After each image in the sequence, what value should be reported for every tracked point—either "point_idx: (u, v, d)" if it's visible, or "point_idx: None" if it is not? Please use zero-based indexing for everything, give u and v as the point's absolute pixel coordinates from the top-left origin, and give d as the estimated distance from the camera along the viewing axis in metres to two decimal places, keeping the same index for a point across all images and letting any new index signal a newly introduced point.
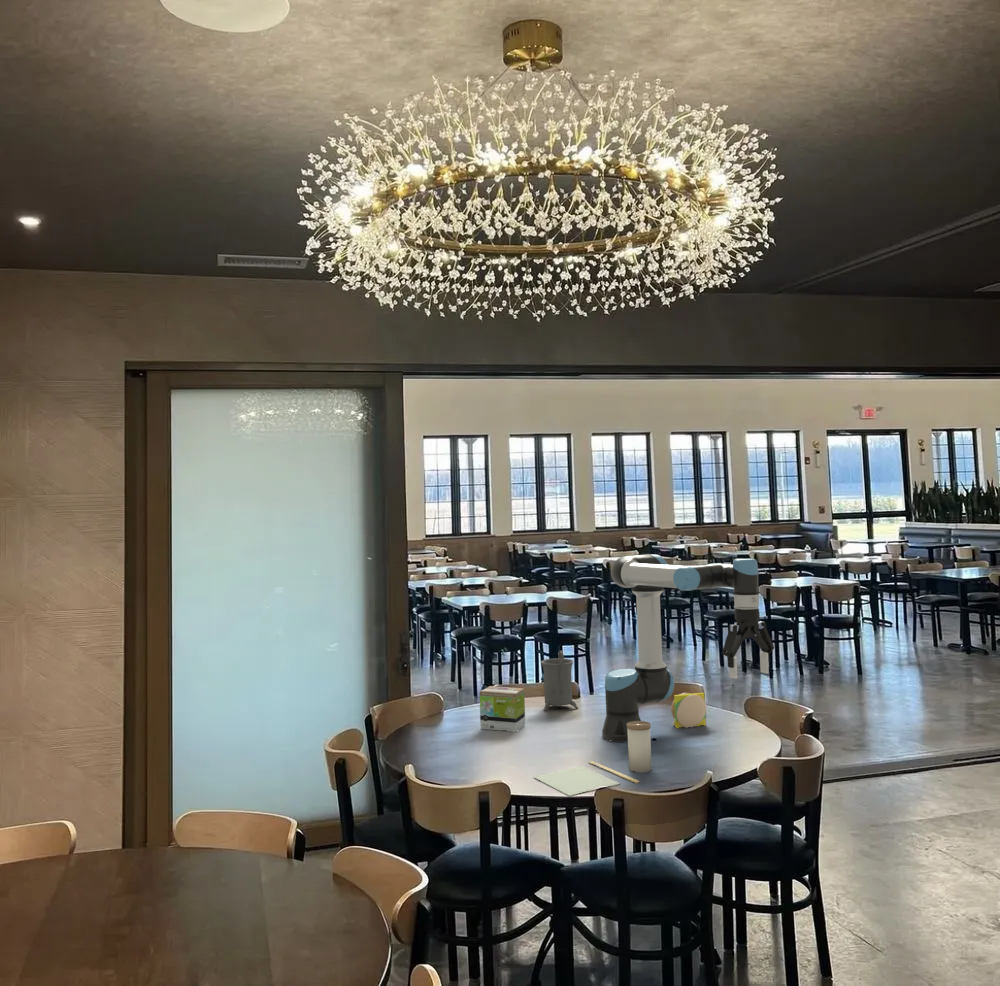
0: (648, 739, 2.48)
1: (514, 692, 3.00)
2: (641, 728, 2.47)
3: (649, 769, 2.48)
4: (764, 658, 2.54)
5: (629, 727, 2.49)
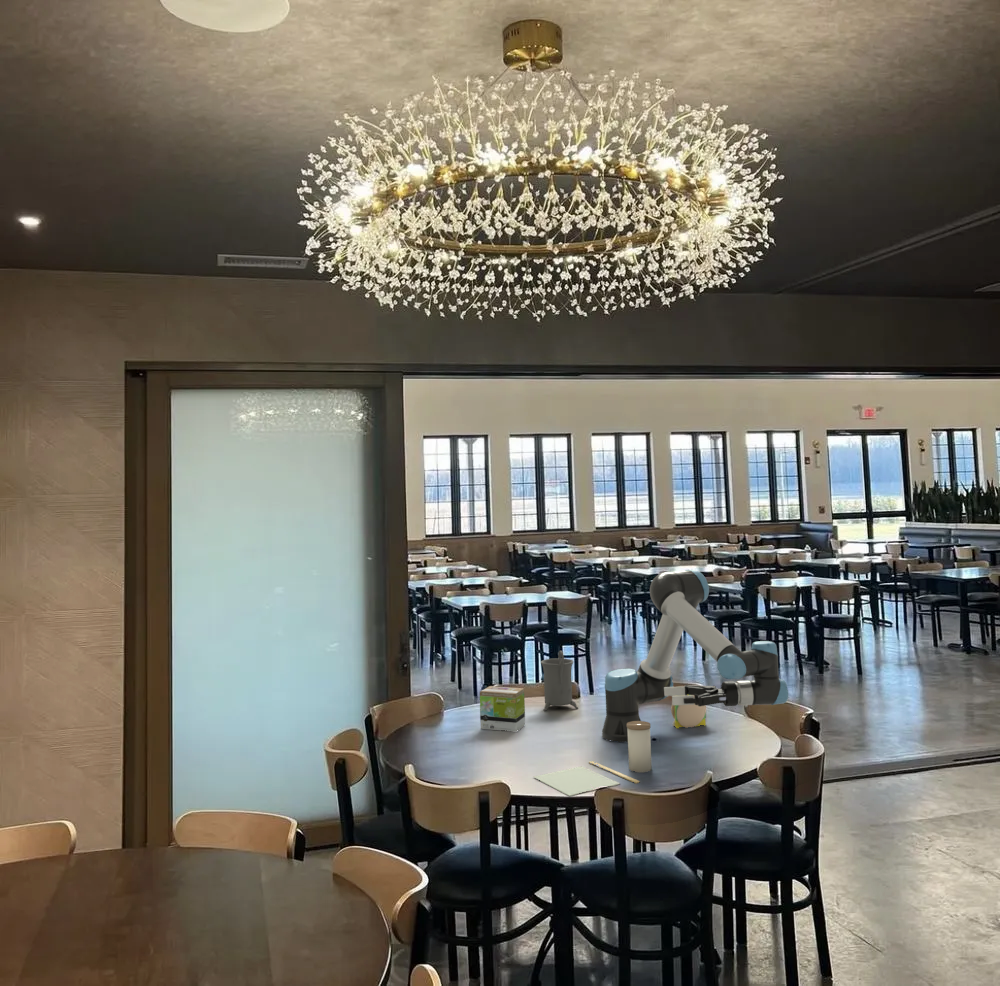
0: (648, 739, 2.48)
1: (514, 692, 3.00)
2: (641, 728, 2.47)
3: (649, 769, 2.48)
4: (679, 692, 2.57)
5: (629, 727, 2.49)
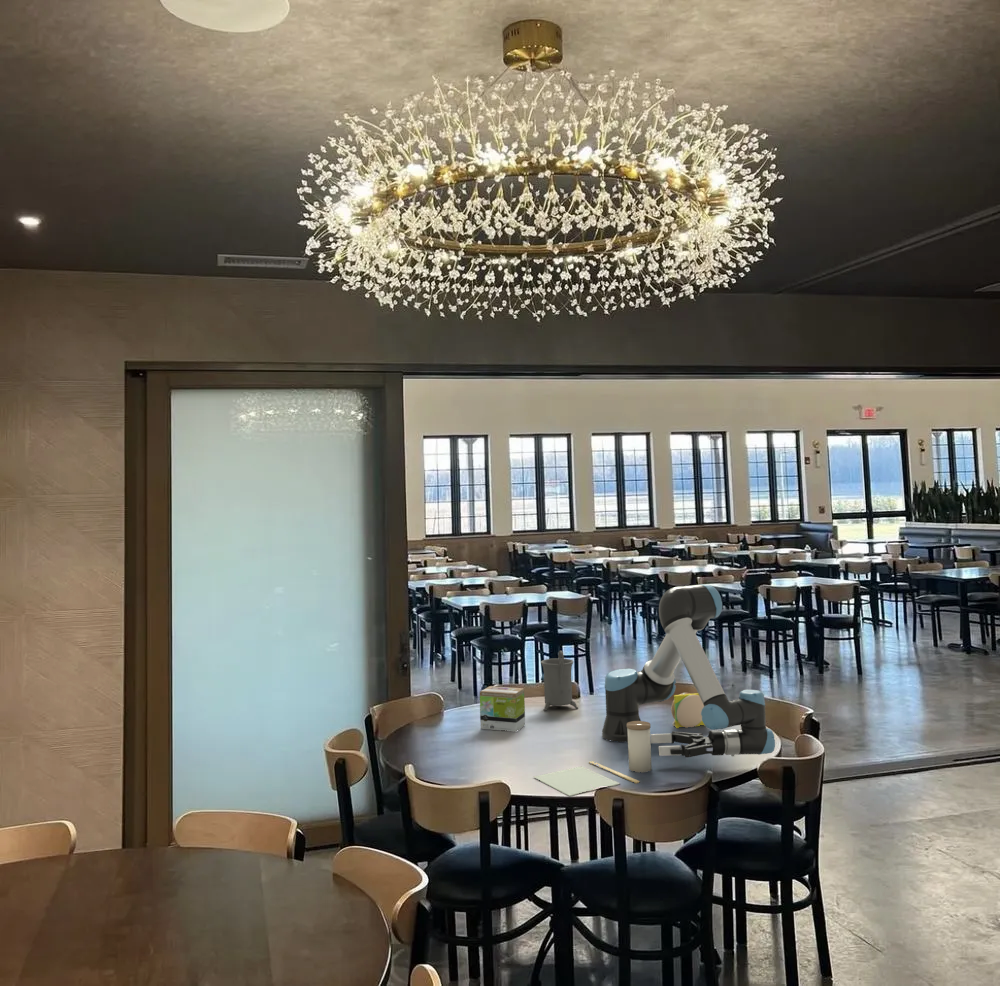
0: (648, 739, 2.48)
1: (514, 692, 3.00)
2: (641, 728, 2.47)
3: (649, 769, 2.48)
4: (666, 740, 2.56)
5: (629, 727, 2.49)
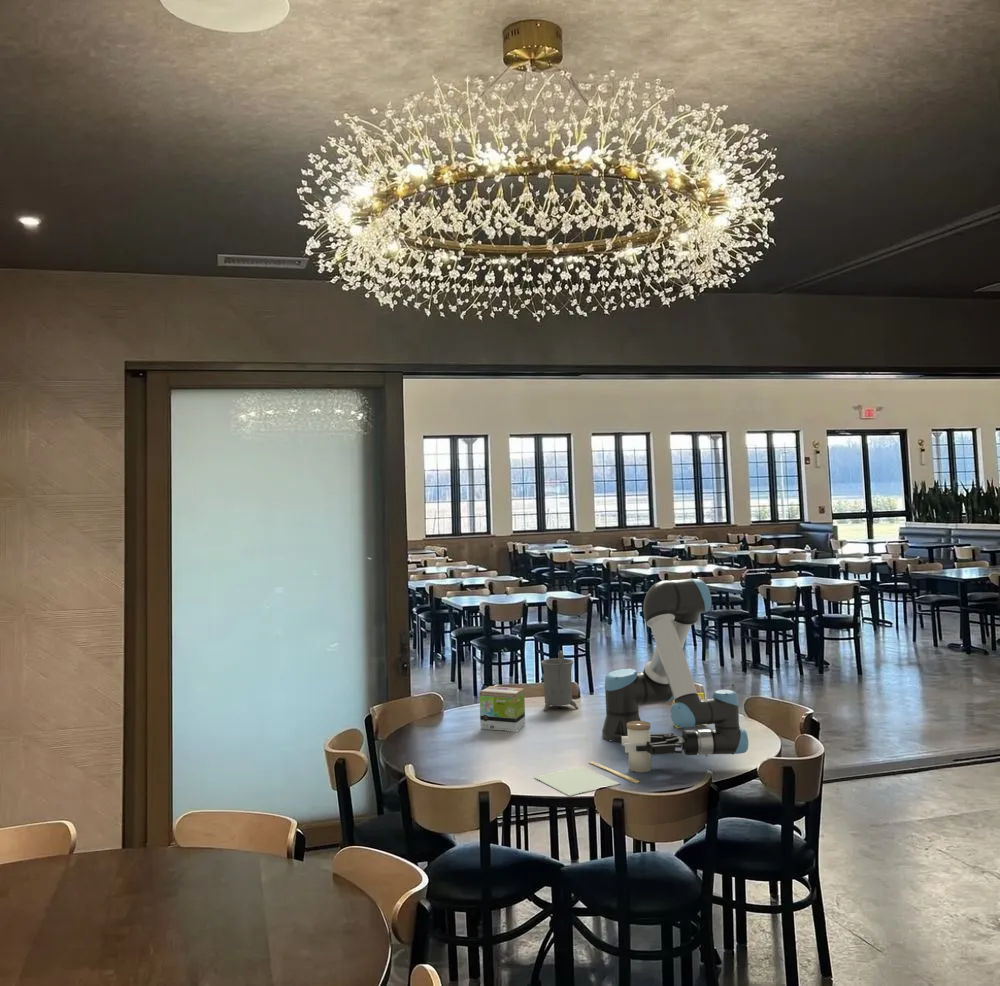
0: (648, 739, 2.48)
1: (514, 692, 3.00)
2: (641, 728, 2.47)
3: (649, 769, 2.48)
4: None
5: (629, 727, 2.49)
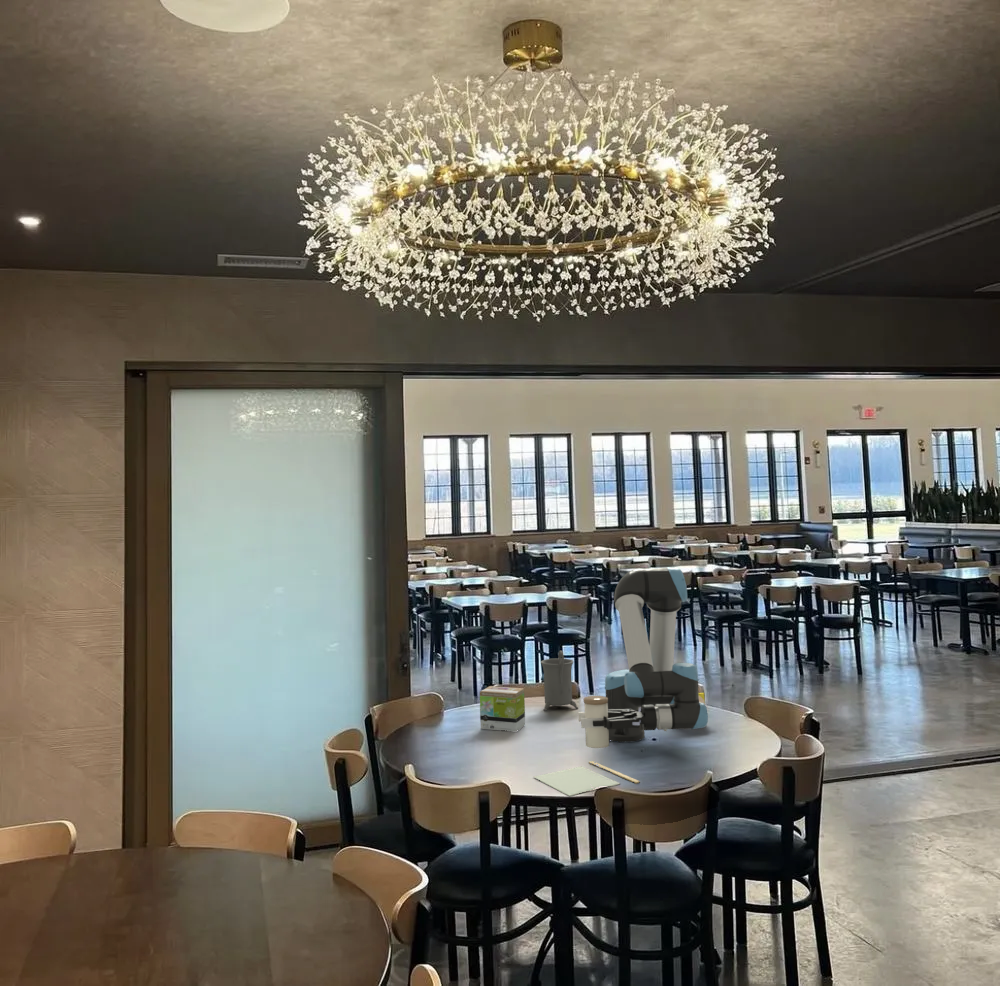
0: (605, 714, 2.40)
1: (514, 692, 3.00)
2: (598, 702, 2.39)
3: (606, 745, 2.40)
4: None
5: (586, 702, 2.41)
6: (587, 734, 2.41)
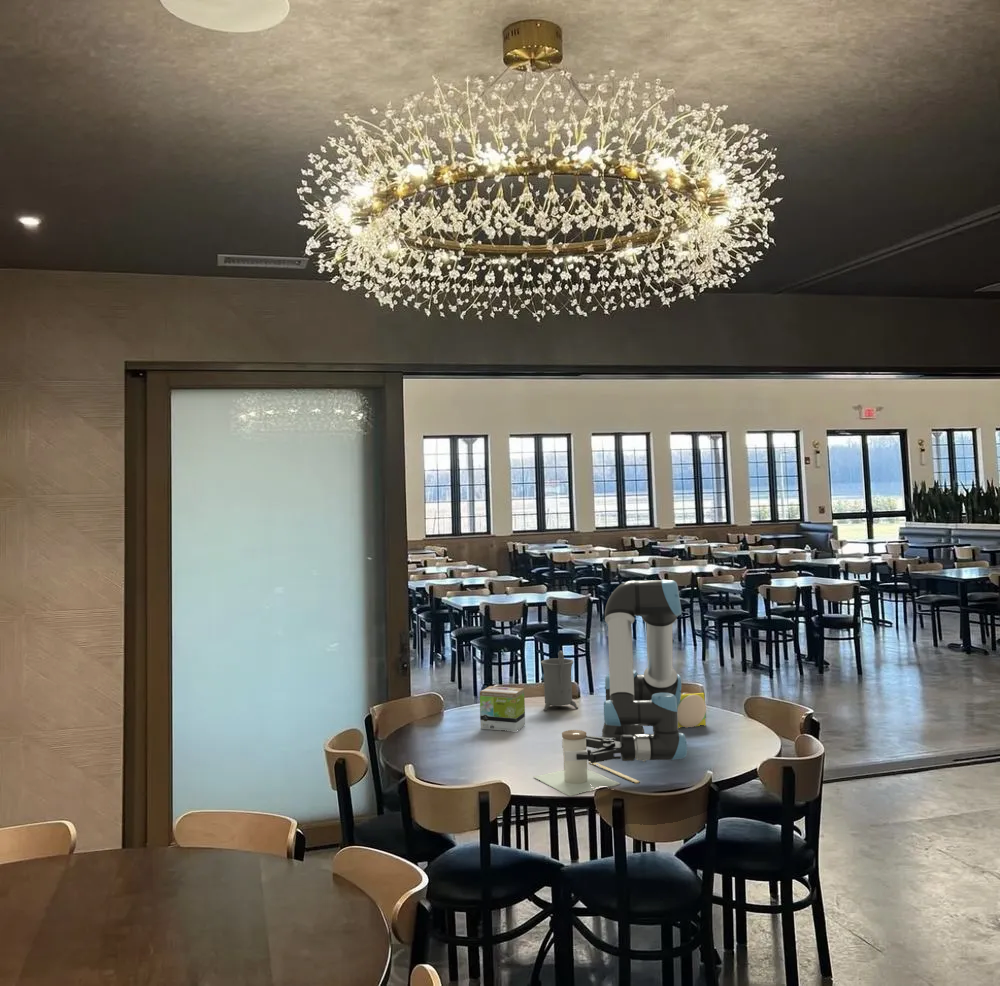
0: (583, 749, 2.39)
1: (514, 692, 3.00)
2: (576, 738, 2.38)
3: (584, 780, 2.38)
4: None
5: (564, 736, 2.40)
6: (565, 769, 2.40)
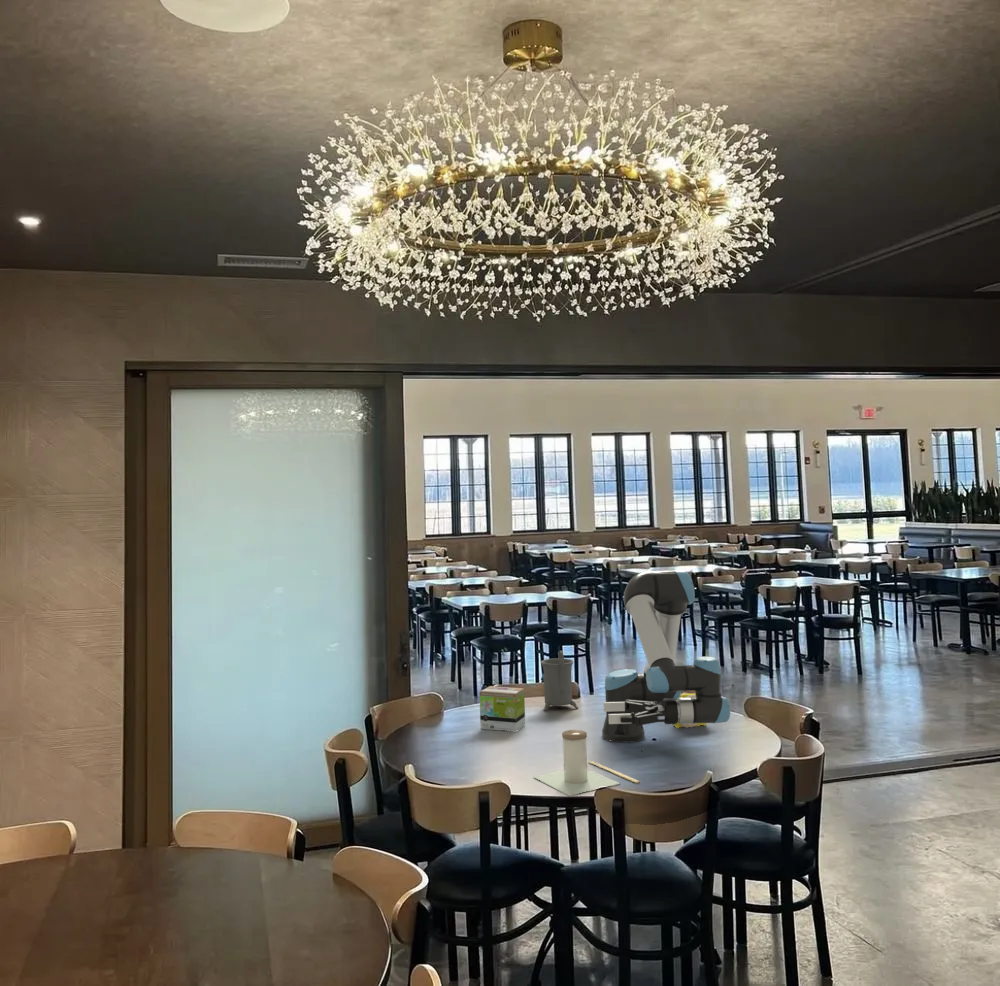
0: (584, 749, 2.39)
1: (514, 692, 3.00)
2: (576, 738, 2.38)
3: (584, 780, 2.38)
4: (618, 708, 2.47)
5: (564, 736, 2.39)
6: (565, 769, 2.40)
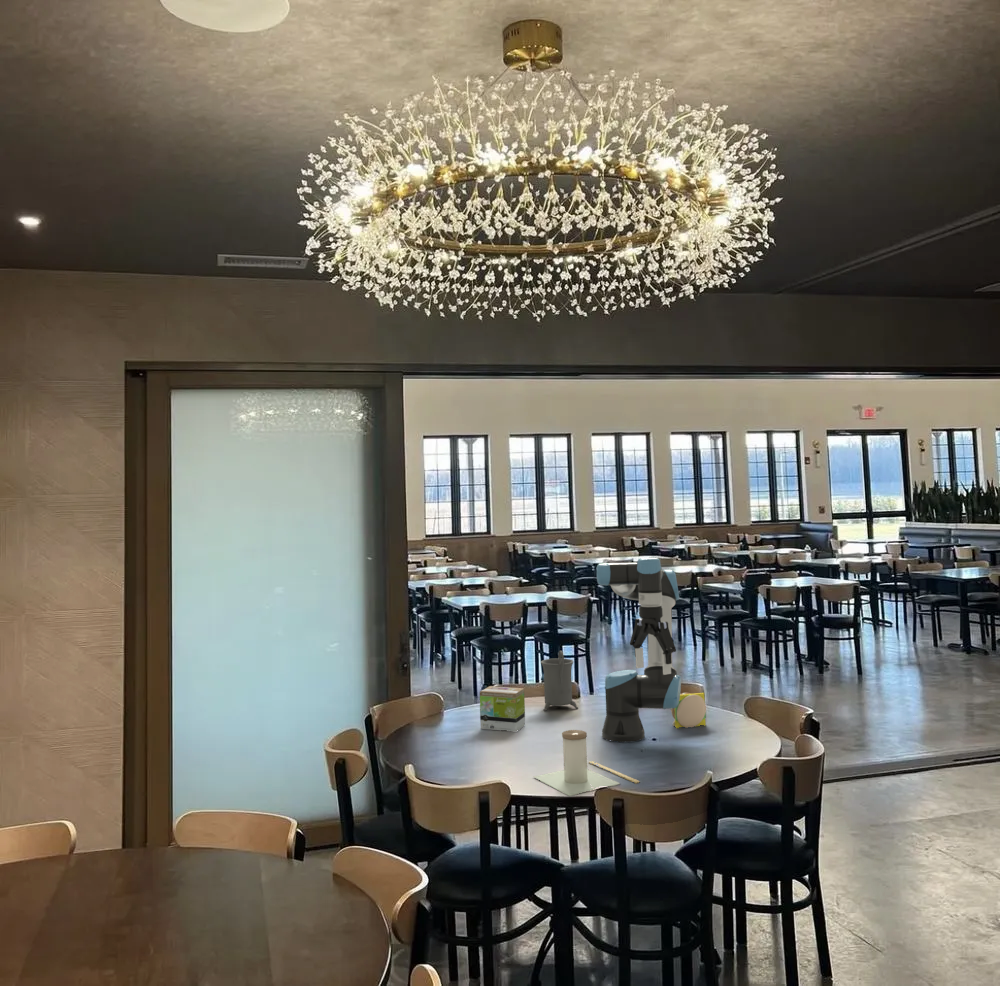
0: (584, 749, 2.39)
1: (514, 692, 3.00)
2: (576, 738, 2.38)
3: (584, 780, 2.38)
4: None
5: (564, 736, 2.39)
6: (565, 769, 2.40)
